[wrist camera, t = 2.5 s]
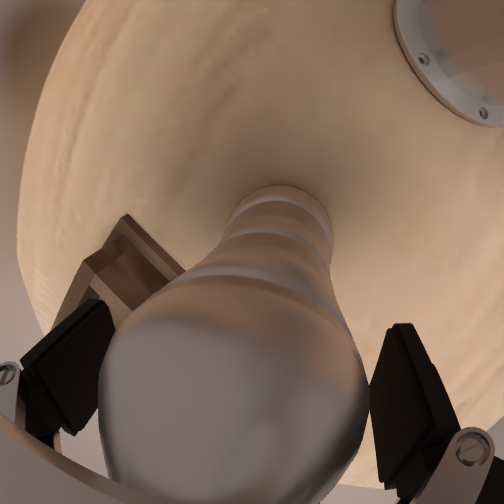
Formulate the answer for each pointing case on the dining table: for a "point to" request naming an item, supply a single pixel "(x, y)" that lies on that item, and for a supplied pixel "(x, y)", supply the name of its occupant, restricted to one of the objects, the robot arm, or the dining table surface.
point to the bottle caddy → (121, 273)
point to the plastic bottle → (239, 369)
